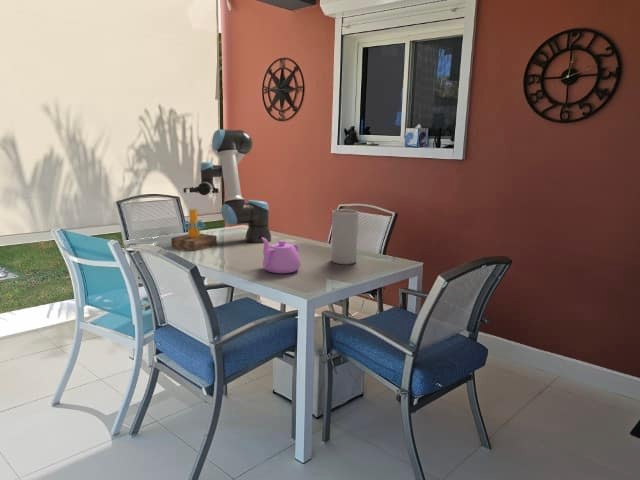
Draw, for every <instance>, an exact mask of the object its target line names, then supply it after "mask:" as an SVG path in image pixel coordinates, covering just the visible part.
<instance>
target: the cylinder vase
mask: <svg viewBox="0 0 640 480" xmlns="http://www.w3.org/2000/svg"><path fill="white" fill-rule="evenodd" d="M331 214H332V218H331V221H332V222H331V246H330V247H331V248H330V249H331V251H330V256H331V257H330V259H331V262H332V263H334V264H337V265H353V264H355V263H357V261H358V260H357V259H358V257H357V255H358V253H357V252H358V235H359V234H358V230H359V229H358V227H359V211H358V210H356V209H355V210H354V209H334V210H332V212H331Z"/></svg>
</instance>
